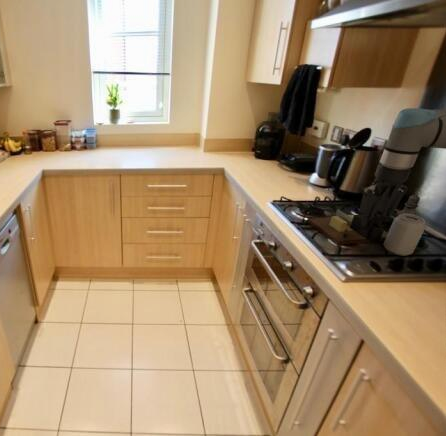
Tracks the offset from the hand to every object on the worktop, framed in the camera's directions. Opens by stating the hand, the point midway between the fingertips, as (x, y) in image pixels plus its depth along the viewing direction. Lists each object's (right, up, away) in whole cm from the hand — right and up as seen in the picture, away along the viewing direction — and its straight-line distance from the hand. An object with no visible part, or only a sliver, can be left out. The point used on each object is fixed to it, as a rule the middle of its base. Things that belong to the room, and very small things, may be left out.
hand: (366, 235), depth 102 cm
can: (+9, -5, 0) cm, 11 cm away
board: (+2, +1, +11) cm, 11 cm away
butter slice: (-3, +2, +10) cm, 10 cm away
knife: (-1, +2, +6) cm, 6 cm away
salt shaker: (+25, +4, +15) cm, 30 cm away
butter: (+4, +3, +11) cm, 11 cm away
